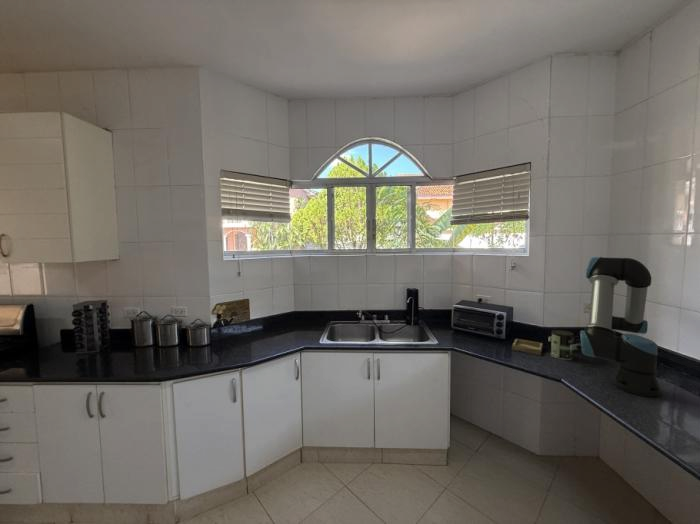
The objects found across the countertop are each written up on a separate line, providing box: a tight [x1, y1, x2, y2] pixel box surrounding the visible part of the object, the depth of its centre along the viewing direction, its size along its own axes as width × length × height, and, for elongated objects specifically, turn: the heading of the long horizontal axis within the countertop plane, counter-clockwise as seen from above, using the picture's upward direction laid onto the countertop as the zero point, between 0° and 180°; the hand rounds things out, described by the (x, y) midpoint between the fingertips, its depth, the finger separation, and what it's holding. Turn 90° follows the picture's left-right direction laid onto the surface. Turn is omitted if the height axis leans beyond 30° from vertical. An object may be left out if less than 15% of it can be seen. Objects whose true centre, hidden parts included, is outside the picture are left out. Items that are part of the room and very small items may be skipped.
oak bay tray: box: [511, 338, 543, 356], centre depth 182 cm, size 14×14×3 cm
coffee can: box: [550, 329, 575, 361], centre depth 169 cm, size 10×10×14 cm
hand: (559, 343), depth 169 cm, fingers open, 13 cm apart
